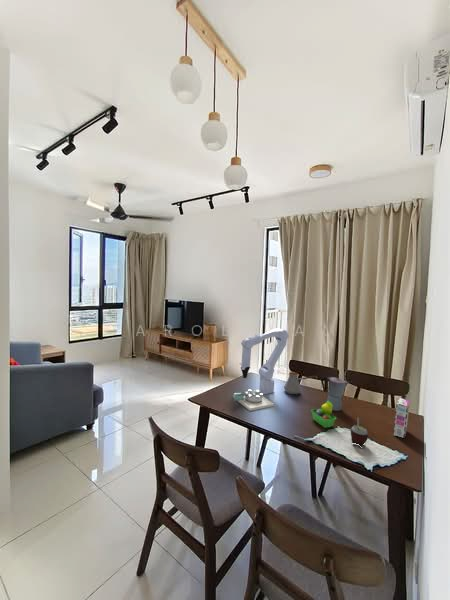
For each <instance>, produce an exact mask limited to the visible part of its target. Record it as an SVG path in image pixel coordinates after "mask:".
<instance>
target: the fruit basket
mask: <svg viewBox="0 0 450 600" xmlns="http://www.w3.org/2000/svg"><path fill="white" fill-rule="evenodd" d="M332 407H333V405H332V404H331V402H329V401H327V400H326V402H325V403H323V404H322V405H321V407H320V408H314V409H311V413H312V414H311V415H312V419H313V420H314V421H315V422H316V423H317V424H319V425H320V426H322V427H323V428H324V429H325V428H331V427H333V425H334V423H335V421H336V420H337V417H336V416H334V415H333V414H332V412H333V410H332Z"/></svg>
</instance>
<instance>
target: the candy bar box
mask: <svg viewBox="0 0 450 600" xmlns="http://www.w3.org/2000/svg"><path fill="white" fill-rule="evenodd" d="M410 402H411V401H410V400H409V399H405V398H401V397H398V400H397V402H396V405H395V406H396V407H395V416H394V424H393V436H394V437H396V436H398V437H397V438H399V437H402V438H405V439H406V435H407V430H408V423H409V411H410ZM402 438H401V439H402Z"/></svg>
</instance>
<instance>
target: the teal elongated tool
mask: <svg viewBox="0 0 450 600" xmlns="http://www.w3.org/2000/svg"><path fill="white" fill-rule="evenodd" d="M233 396H234V398H233V401H234V402H238V401H240V400H244V399H245V400H246V401H248V402H252V403H259V402H261V401H262V398H263V397H264V394H263V393H261V392H259V391H258V390H257V389H256V390H252V389H247V391H243V392H234V394H233Z"/></svg>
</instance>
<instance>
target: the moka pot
mask: <svg viewBox="0 0 450 600" xmlns="http://www.w3.org/2000/svg"><path fill="white" fill-rule="evenodd" d="M324 381H327V382H328V390H326V388H325V382H324ZM320 382H321V385H322V386H321V387H322V390H323V391H322V392H324V393H326V394H327V393H328V396H327V399H326V402H327V401H329V402H331V404H332V405H333V407H332V411H333V412H334V411H336V412H340V411H342V400H343V398H342V397H343V394H344V391H345V389H346V388H347V385H349V384H350V383H349V381H347V380H344V379H343V378H340V375H336V377H327V376H324V377H323V378H322V379H320Z"/></svg>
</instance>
